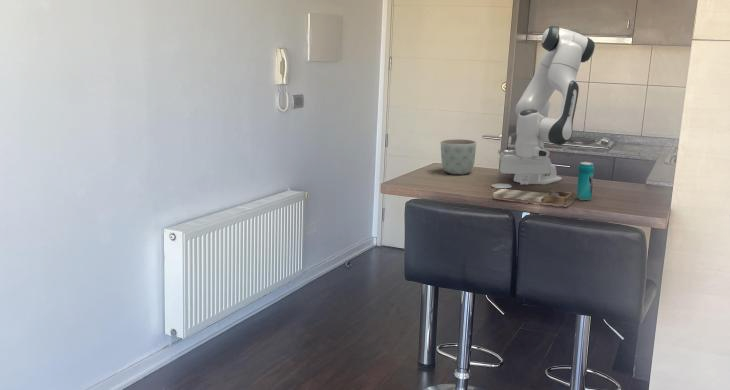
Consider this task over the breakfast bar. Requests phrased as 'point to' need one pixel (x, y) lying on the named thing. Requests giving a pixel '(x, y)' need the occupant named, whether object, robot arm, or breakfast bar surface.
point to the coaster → (501, 186)
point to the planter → (458, 155)
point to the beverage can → (585, 180)
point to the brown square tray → (558, 198)
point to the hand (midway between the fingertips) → (524, 184)
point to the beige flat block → (519, 195)
